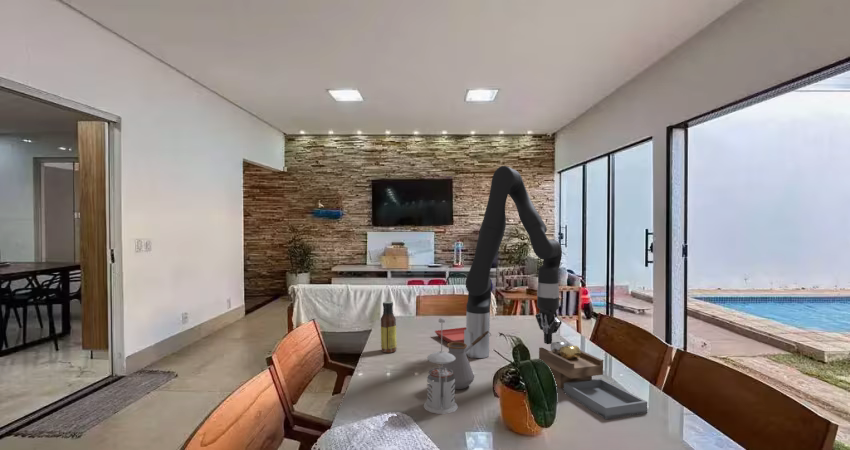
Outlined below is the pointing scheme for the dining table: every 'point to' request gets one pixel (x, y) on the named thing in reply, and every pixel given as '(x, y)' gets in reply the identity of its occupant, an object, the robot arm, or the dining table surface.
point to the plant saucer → (452, 335)
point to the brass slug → (570, 352)
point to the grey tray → (605, 398)
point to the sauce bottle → (388, 328)
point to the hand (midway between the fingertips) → (548, 343)
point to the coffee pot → (461, 363)
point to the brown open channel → (571, 367)
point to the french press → (441, 383)
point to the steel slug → (558, 346)
